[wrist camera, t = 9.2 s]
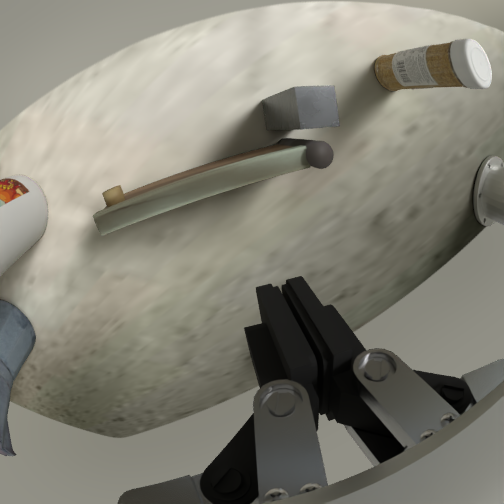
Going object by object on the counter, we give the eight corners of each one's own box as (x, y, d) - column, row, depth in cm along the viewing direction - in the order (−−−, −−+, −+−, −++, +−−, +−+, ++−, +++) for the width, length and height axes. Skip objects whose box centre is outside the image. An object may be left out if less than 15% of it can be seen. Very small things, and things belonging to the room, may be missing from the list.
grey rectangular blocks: (292, 97, 24) (334, 85, 16) (313, 317, 35) (342, 361, 28) (262, 100, 24) (294, 86, 16) (291, 324, 35) (317, 371, 27)
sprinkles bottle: (404, 92, 26) (496, 93, 14) (375, 89, 25) (471, 84, 13) (399, 57, 24) (488, 46, 12) (369, 52, 23) (461, 31, 11)
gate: (298, 155, 26) (335, 165, 19) (122, 212, 25) (100, 241, 18) (291, 128, 25) (328, 128, 18) (111, 185, 23) (85, 205, 17)
